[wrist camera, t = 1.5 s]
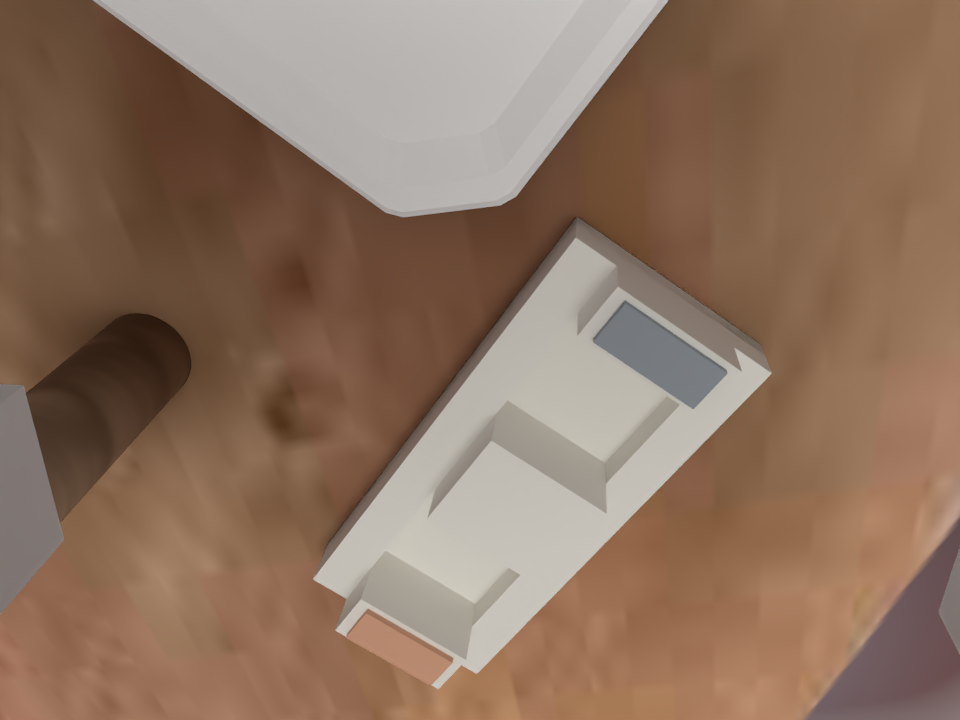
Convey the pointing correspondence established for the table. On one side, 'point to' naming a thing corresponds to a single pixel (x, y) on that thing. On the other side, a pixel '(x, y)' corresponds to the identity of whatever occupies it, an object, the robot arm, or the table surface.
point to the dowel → (104, 401)
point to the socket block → (534, 457)
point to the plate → (405, 82)
